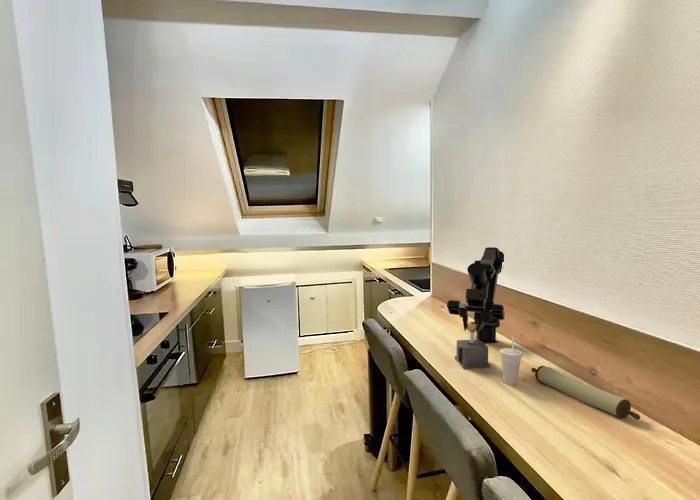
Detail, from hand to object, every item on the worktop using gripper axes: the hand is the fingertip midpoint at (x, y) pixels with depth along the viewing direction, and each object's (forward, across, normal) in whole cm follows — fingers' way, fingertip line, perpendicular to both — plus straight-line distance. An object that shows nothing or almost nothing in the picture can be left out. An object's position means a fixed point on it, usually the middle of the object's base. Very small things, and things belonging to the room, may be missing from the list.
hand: (471, 331), depth 135 cm
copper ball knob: (+4, 0, +6) cm, 7 cm away
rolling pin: (+16, +32, +1) cm, 36 cm away
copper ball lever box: (+7, 0, +9) cm, 12 cm away
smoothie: (+15, +14, +2) cm, 20 cm away
